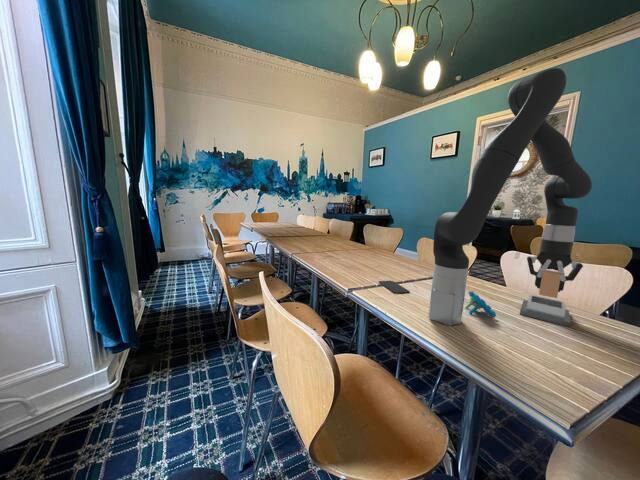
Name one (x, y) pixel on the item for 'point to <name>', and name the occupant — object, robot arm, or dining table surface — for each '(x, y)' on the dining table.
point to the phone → (394, 287)
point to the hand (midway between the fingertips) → (548, 289)
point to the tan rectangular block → (549, 283)
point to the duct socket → (546, 310)
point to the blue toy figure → (479, 304)
